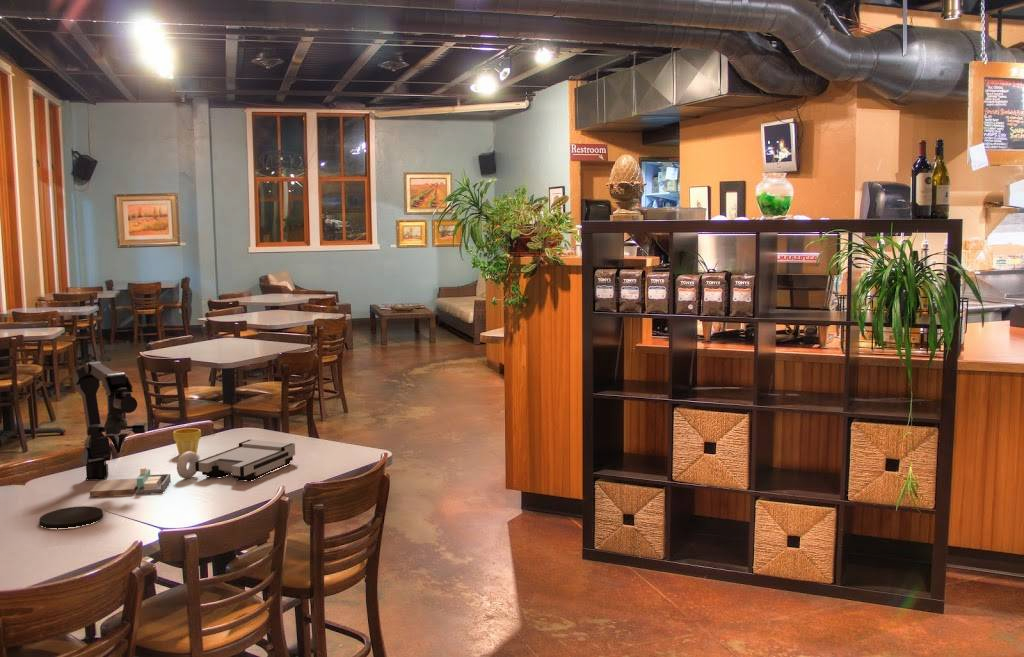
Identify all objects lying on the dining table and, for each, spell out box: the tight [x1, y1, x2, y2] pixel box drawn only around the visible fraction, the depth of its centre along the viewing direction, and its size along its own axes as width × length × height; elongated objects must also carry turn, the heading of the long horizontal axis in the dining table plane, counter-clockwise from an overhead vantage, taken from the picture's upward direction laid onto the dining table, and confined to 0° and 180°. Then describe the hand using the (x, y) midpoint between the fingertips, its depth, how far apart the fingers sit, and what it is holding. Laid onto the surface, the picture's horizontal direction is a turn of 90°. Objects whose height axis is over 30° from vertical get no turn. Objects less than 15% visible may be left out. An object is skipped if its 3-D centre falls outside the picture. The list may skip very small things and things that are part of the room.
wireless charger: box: [38, 505, 104, 529], centre depth 280 cm, size 18×18×2 cm
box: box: [134, 473, 172, 495], centre depth 315 cm, size 9×14×3 cm, turn 11°
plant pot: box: [172, 427, 202, 457], centre depth 362 cm, size 10×10×10 cm
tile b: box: [147, 476, 162, 486], centre depth 317 cm, size 4×4×2 cm
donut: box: [176, 451, 200, 480], centre depth 327 cm, size 10×4×10 cm, turn 159°
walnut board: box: [89, 477, 139, 498], centre depth 313 cm, size 14×14×2 cm
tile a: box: [144, 480, 159, 489], centre depth 312 cm, size 4×4×2 cm
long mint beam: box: [137, 467, 151, 487], centre depth 314 cm, size 2×12×5 cm, turn 11°
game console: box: [195, 439, 296, 482], centre depth 336 cm, size 21×32×8 cm, turn 160°
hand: (118, 453), depth 313 cm, fingers closed
